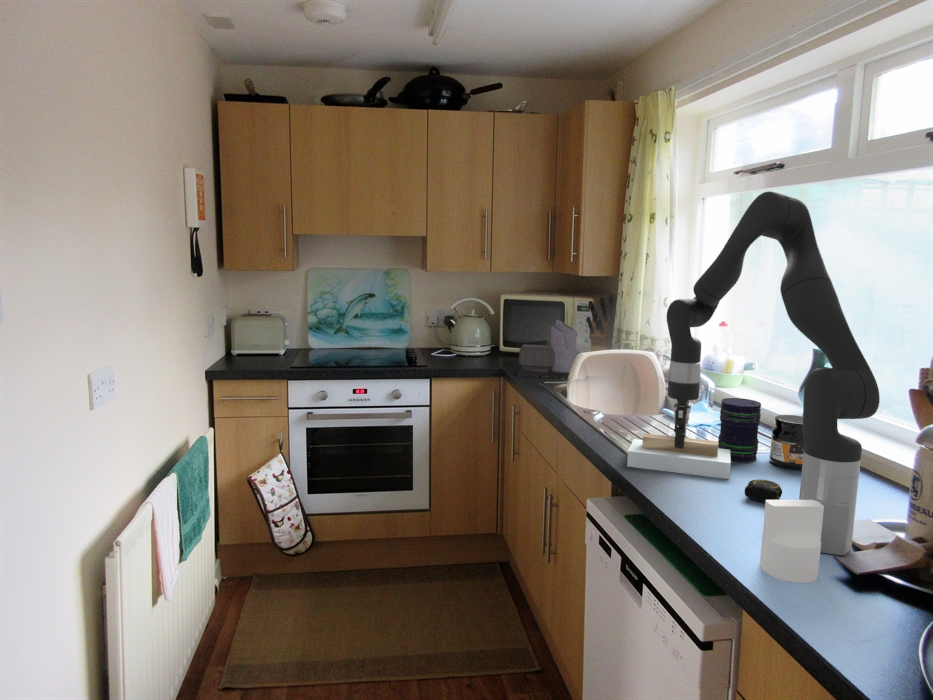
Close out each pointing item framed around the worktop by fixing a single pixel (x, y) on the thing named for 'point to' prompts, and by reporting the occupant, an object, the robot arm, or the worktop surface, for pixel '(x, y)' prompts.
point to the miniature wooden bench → (689, 447)
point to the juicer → (550, 354)
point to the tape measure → (763, 490)
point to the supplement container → (787, 442)
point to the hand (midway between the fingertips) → (679, 444)
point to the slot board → (680, 461)
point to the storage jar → (740, 428)
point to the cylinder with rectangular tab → (792, 539)
